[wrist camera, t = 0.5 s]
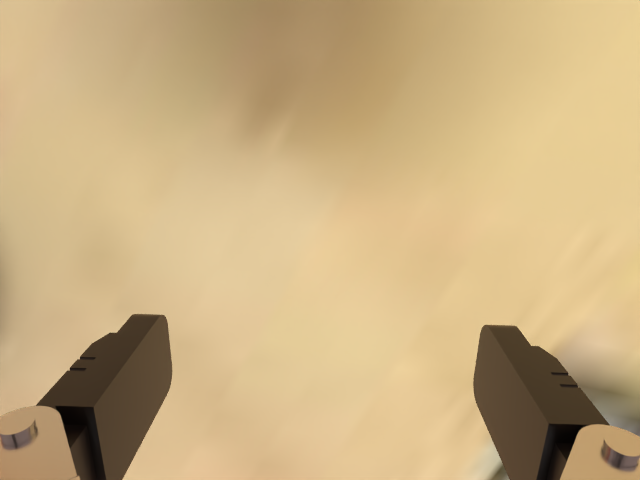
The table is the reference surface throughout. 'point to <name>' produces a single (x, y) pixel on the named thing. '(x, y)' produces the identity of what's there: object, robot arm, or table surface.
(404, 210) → the table surface
